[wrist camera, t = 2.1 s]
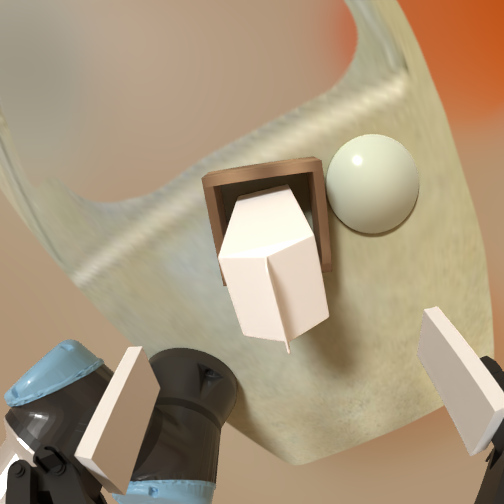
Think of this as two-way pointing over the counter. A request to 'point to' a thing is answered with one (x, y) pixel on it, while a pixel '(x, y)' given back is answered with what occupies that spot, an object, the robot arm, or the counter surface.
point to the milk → (273, 267)
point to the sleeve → (264, 171)
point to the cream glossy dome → (372, 183)
